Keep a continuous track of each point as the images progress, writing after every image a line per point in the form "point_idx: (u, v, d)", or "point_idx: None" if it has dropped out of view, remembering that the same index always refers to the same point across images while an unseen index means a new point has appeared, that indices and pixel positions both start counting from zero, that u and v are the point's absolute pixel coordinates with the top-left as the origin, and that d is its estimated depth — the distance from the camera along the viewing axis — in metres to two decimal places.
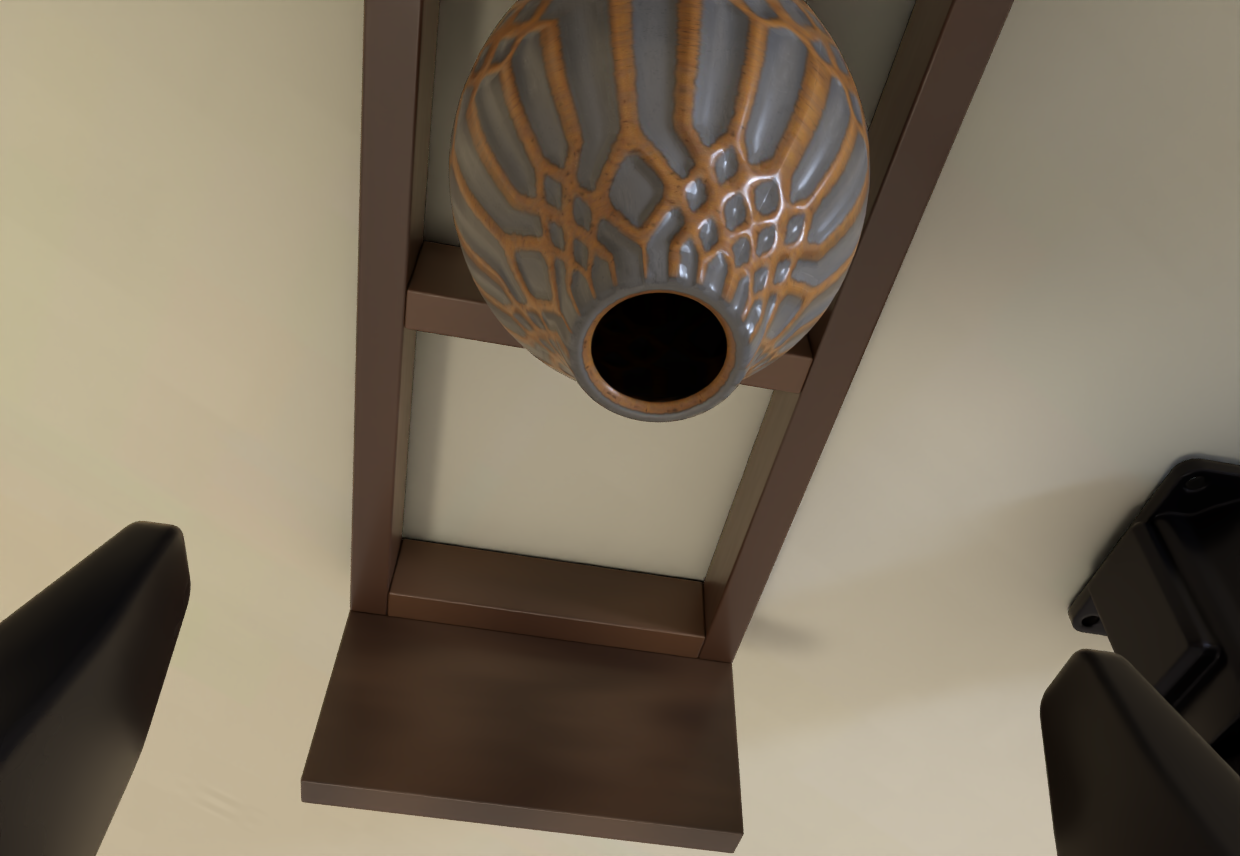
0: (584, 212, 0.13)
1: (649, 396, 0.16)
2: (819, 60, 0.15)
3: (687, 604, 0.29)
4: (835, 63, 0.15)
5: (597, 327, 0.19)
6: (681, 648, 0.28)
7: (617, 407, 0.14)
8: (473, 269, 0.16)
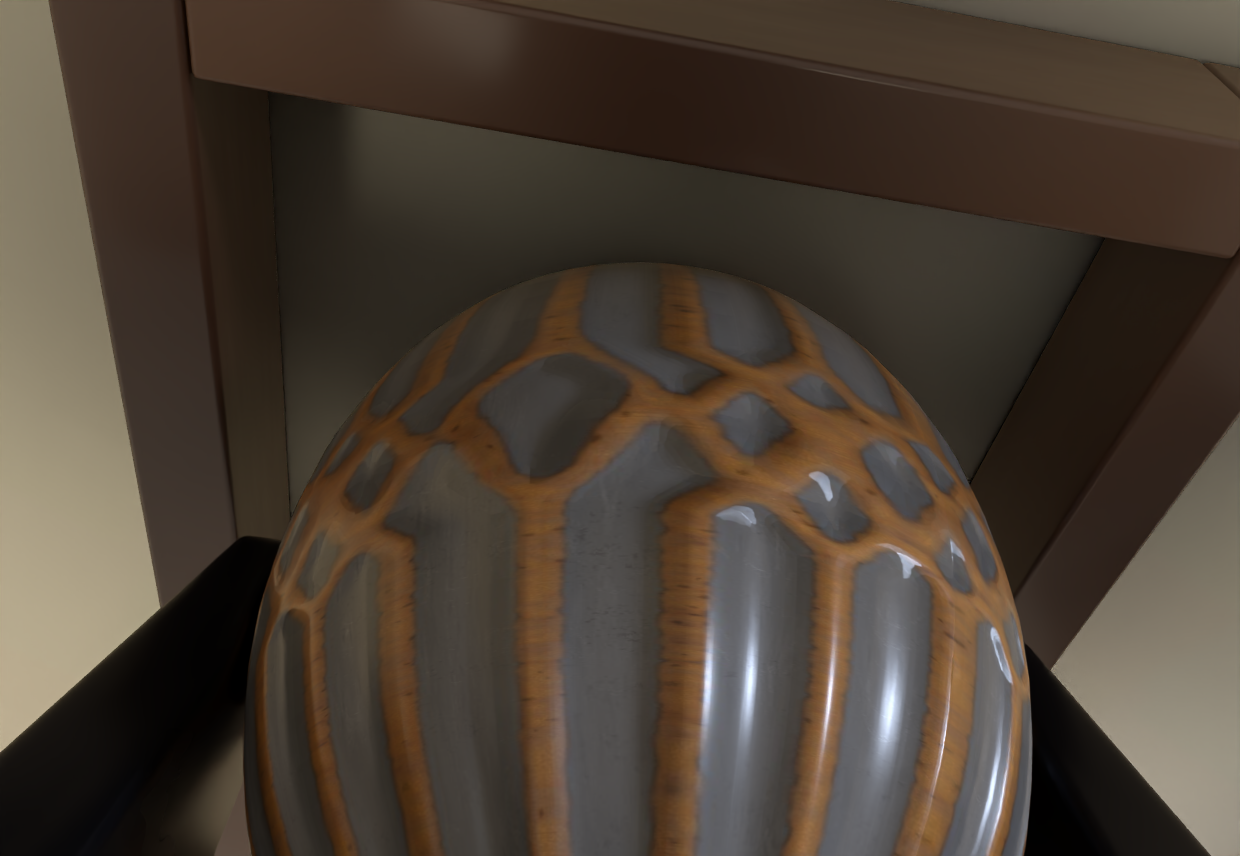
0: None
1: None
2: (953, 602, 0.07)
3: None
4: (978, 576, 0.08)
5: None
6: None
7: None
8: None
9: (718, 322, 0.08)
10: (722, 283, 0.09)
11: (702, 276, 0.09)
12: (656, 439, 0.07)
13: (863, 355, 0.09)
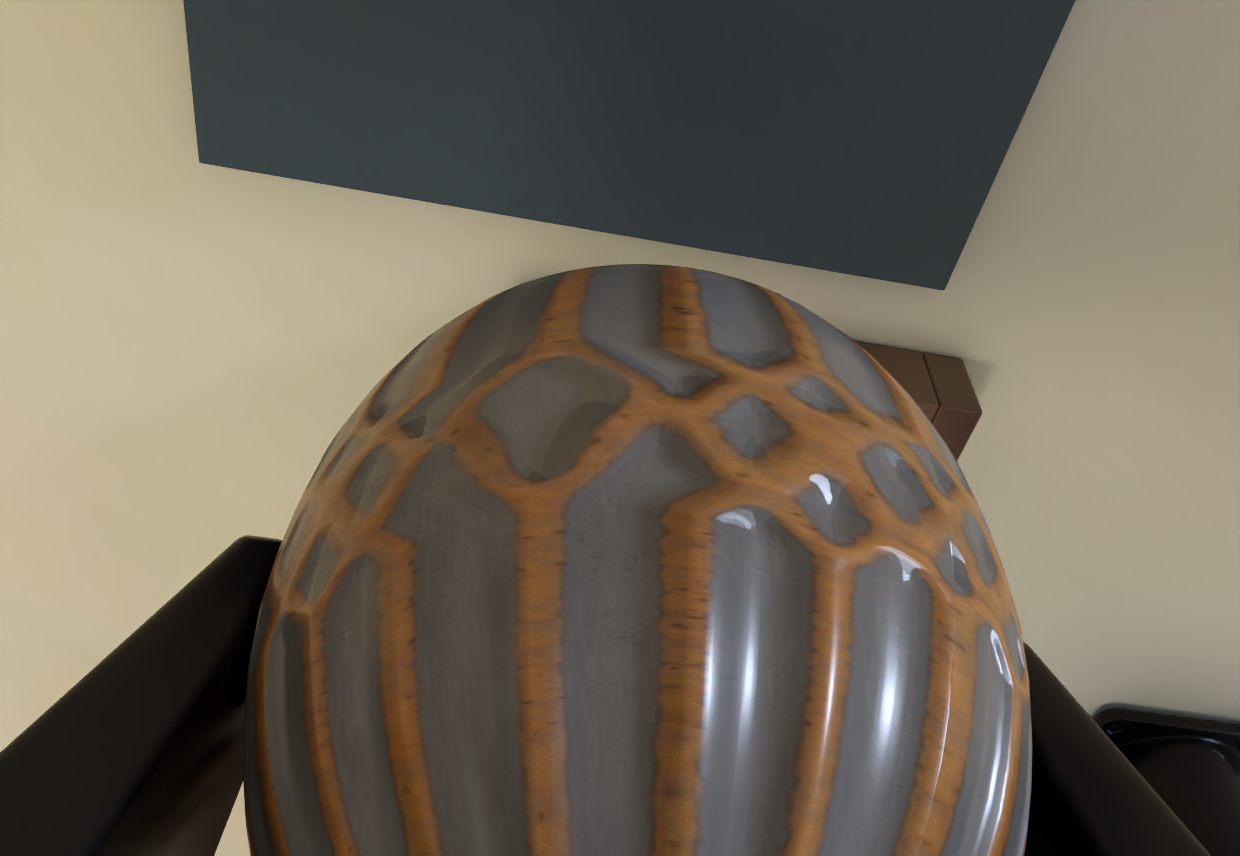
0: None
1: None
2: (953, 605, 0.07)
3: None
4: (978, 578, 0.08)
5: None
6: None
7: None
8: None
9: (718, 324, 0.08)
10: (722, 285, 0.09)
11: (702, 278, 0.09)
12: (656, 441, 0.07)
13: (863, 357, 0.09)
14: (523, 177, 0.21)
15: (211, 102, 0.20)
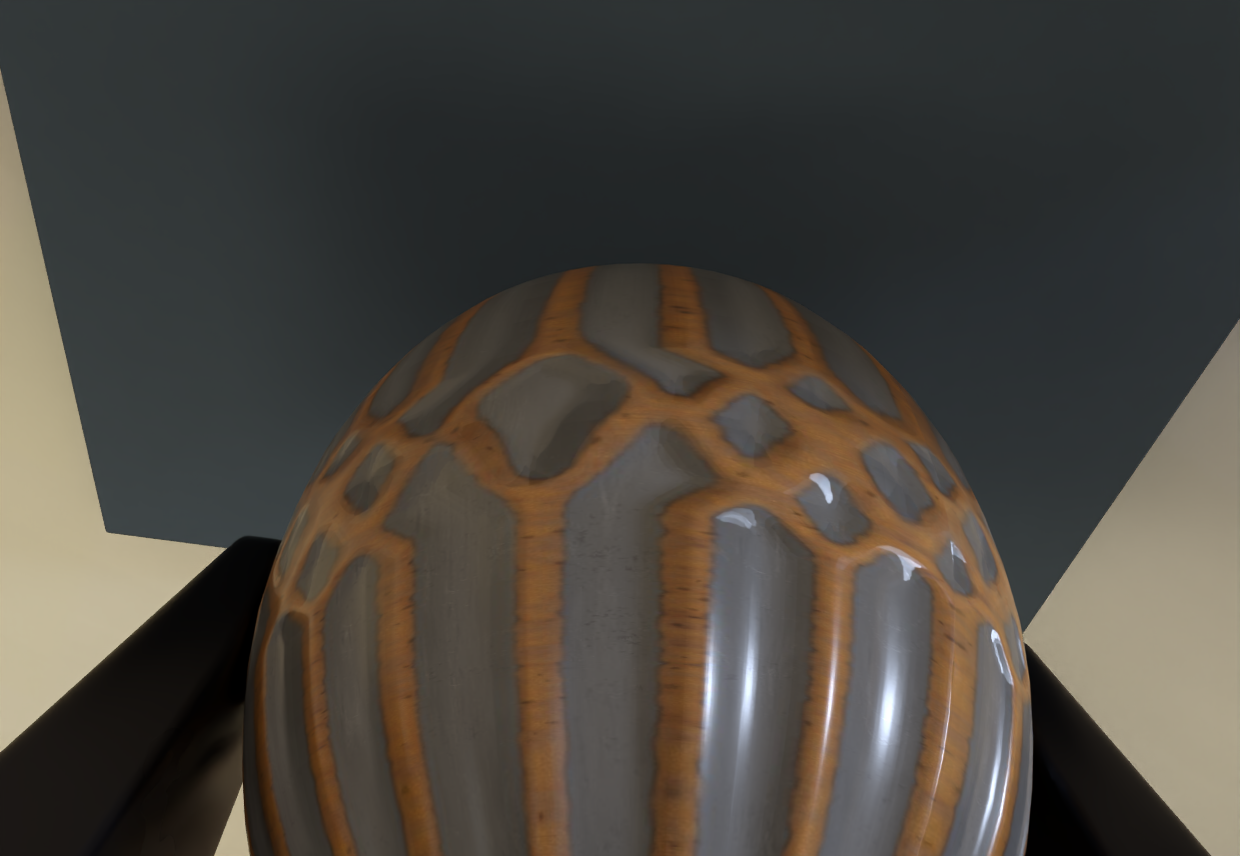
0: None
1: None
2: (954, 604, 0.07)
3: None
4: (978, 578, 0.08)
5: None
6: None
7: None
8: None
9: (718, 323, 0.08)
10: (722, 284, 0.09)
11: (702, 277, 0.09)
12: (656, 441, 0.07)
13: (863, 356, 0.09)
14: None
15: (115, 477, 0.16)
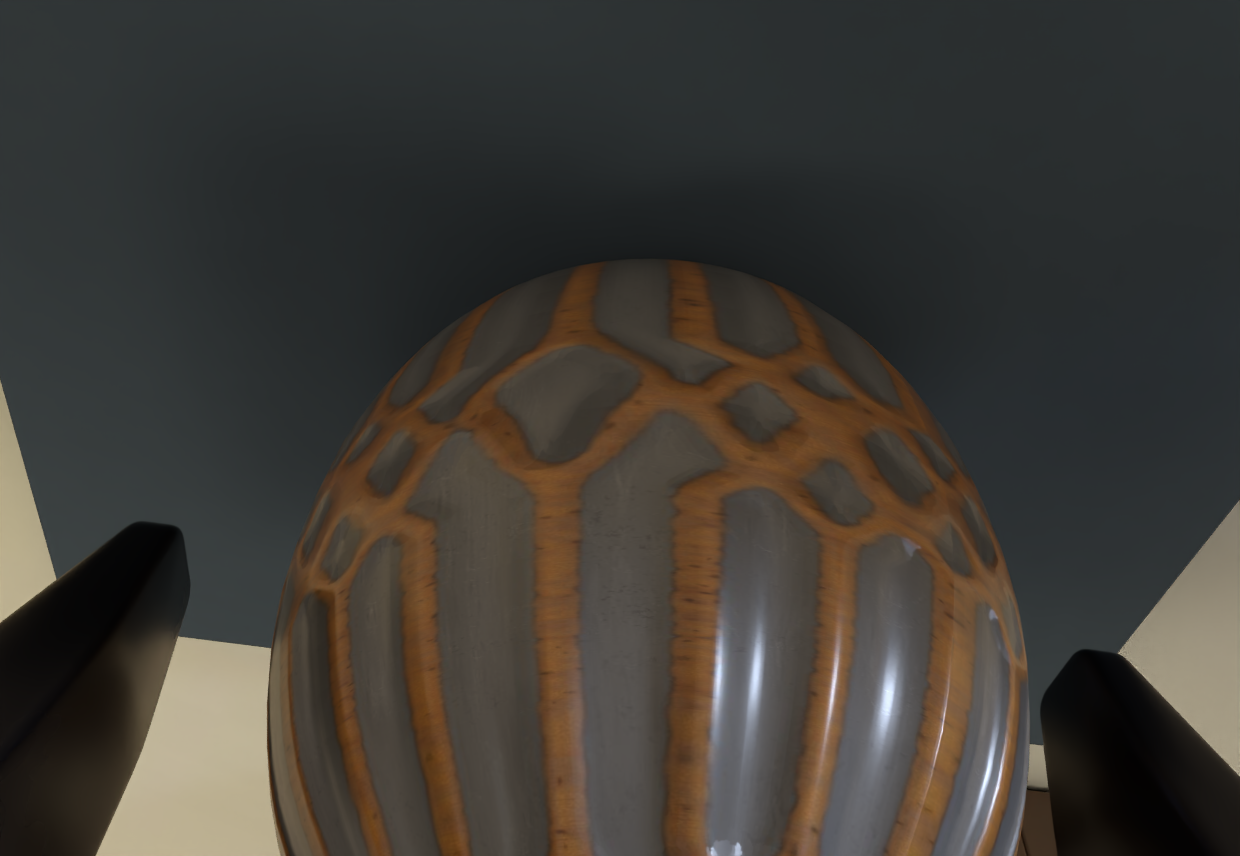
0: None
1: None
2: (953, 585, 0.07)
3: None
4: (977, 559, 0.08)
5: None
6: None
7: None
8: None
9: (726, 315, 0.09)
10: (730, 278, 0.09)
11: (710, 272, 0.09)
12: (667, 425, 0.07)
13: (866, 348, 0.09)
14: None
15: None
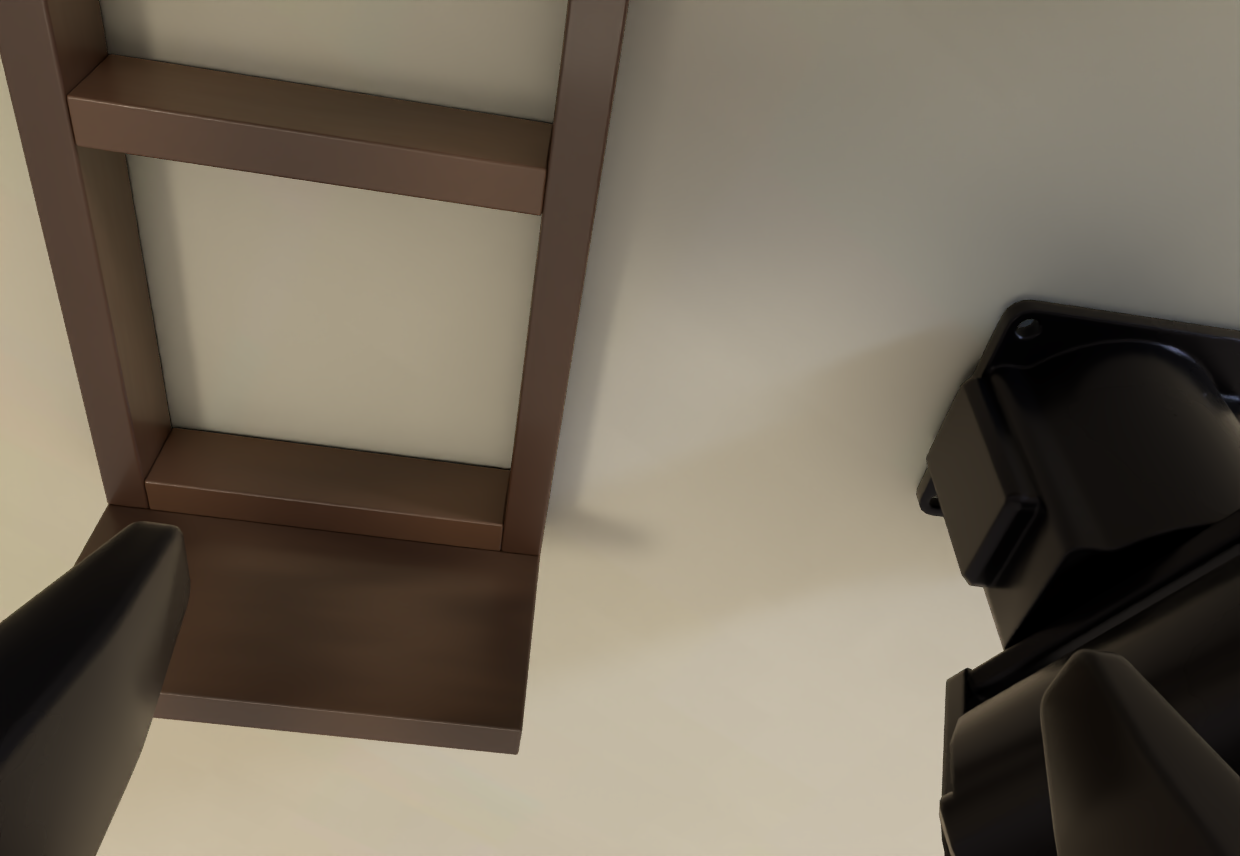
0: None
1: None
2: None
3: (488, 492, 0.26)
4: None
5: None
6: (479, 539, 0.25)
7: None
8: None
9: None
10: None
11: None
12: None
13: None
14: None
15: None
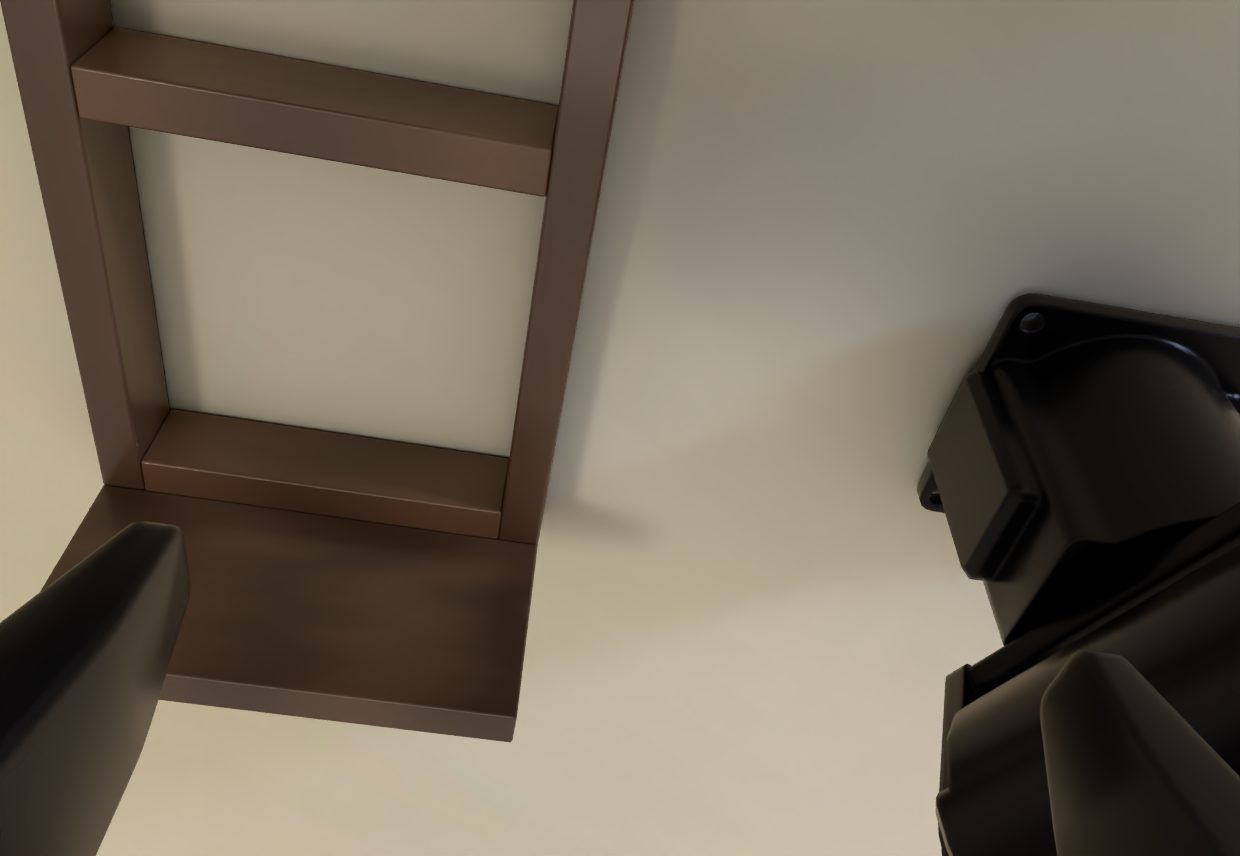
0: None
1: None
2: None
3: (487, 480, 0.26)
4: None
5: None
6: (477, 526, 0.25)
7: None
8: None
9: None
10: None
11: None
12: None
13: None
14: None
15: None
